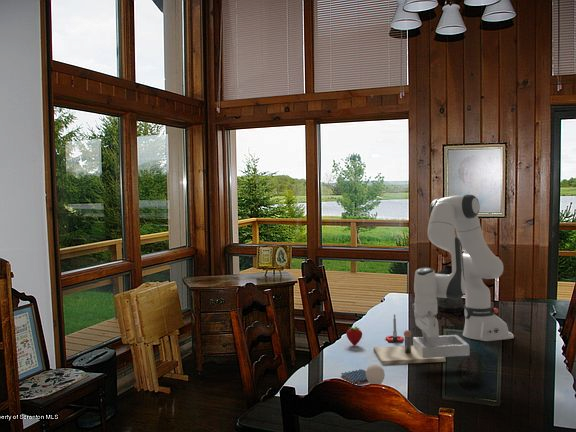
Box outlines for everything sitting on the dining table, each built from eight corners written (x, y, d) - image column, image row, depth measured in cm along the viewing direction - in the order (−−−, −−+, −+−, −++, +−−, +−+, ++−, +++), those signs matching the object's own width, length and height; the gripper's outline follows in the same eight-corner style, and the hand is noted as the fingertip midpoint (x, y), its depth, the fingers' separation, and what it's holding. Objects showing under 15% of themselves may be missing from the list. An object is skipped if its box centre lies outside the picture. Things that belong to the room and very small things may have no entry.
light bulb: (364, 393, 180) (363, 362, 180) (382, 391, 181) (381, 361, 180) (368, 400, 174) (367, 368, 173) (387, 399, 174) (386, 367, 174)
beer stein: (439, 304, 310) (438, 263, 308) (472, 308, 298) (471, 265, 297) (429, 310, 296) (428, 267, 295) (463, 314, 285) (462, 269, 284)
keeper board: (431, 348, 227) (431, 323, 227) (445, 361, 209) (445, 334, 209) (373, 350, 227) (372, 325, 226) (382, 364, 209) (381, 337, 208)
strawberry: (348, 342, 240) (348, 321, 239) (364, 344, 236) (363, 322, 236) (344, 346, 234) (343, 324, 234) (360, 348, 231) (359, 326, 231)
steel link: (457, 344, 208) (456, 334, 208) (469, 355, 195) (469, 345, 195) (413, 346, 207) (412, 337, 207) (422, 358, 194) (422, 347, 194)
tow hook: (385, 337, 247) (385, 342, 238) (384, 311, 247) (385, 314, 238) (403, 338, 246) (404, 342, 237) (402, 311, 246) (403, 315, 237)
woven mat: (354, 387, 187) (354, 381, 187) (339, 377, 197) (339, 372, 197) (378, 382, 192) (378, 376, 191) (363, 373, 201) (363, 368, 201)
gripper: (442, 314, 195) (443, 350, 196) (426, 302, 216) (427, 335, 217) (426, 315, 195) (427, 351, 196) (411, 303, 216) (412, 336, 216)
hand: (427, 342), depth 207 cm, fingers closed on steel link, 2 cm apart
